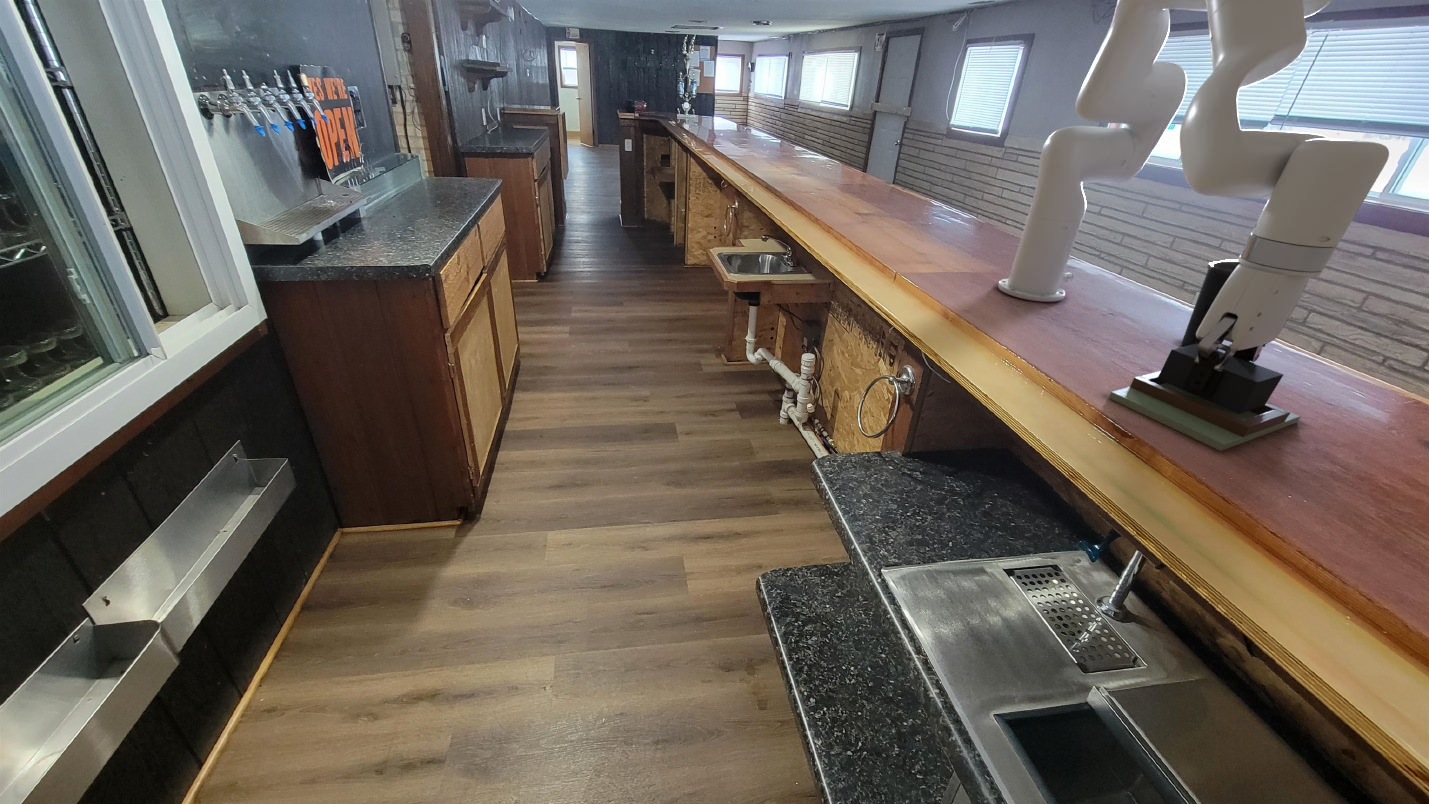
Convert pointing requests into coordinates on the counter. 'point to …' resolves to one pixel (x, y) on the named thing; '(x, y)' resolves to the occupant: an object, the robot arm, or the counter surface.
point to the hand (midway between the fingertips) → (1210, 388)
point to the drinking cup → (1208, 297)
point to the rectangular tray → (1200, 413)
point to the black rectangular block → (1225, 380)
